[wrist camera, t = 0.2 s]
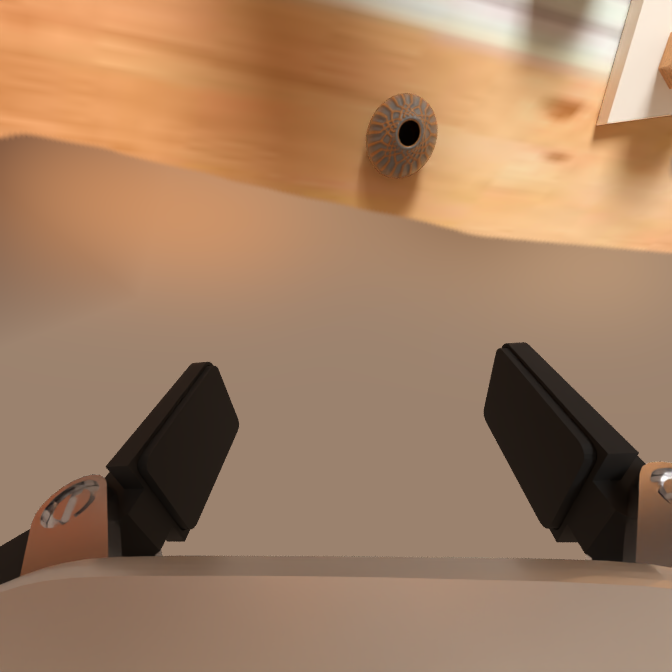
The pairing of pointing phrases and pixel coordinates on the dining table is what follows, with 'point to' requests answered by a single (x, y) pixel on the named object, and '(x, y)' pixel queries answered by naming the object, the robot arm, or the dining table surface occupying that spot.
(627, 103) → the pin board
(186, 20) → the dining table surface
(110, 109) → the dining table surface
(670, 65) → the seated sleeve
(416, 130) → the vase
